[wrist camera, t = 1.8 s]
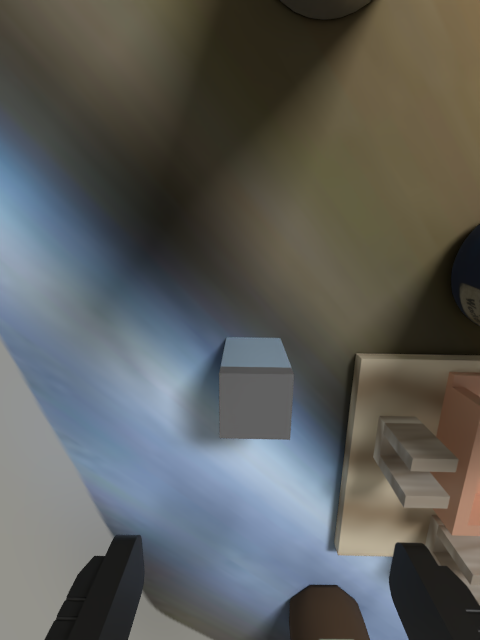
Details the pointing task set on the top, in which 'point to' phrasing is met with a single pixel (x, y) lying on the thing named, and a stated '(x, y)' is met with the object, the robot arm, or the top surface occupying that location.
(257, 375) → the grey block
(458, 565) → the board
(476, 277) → the canister
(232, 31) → the top surface
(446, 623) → the robot arm
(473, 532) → the tray
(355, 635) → the beer bottle
